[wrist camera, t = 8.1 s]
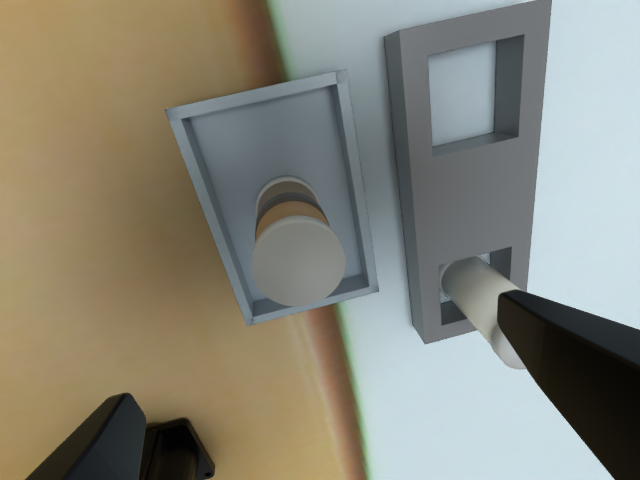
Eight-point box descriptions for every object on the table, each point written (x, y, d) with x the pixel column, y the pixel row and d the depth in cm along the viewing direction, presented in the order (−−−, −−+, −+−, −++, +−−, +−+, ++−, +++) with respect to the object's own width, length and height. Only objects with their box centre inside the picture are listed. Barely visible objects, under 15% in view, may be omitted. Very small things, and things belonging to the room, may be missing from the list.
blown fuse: (323, 226, 19) (352, 293, 13) (265, 240, 19) (266, 316, 13) (310, 168, 18) (336, 212, 11) (248, 183, 18) (239, 237, 11)
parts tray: (369, 275, 22) (379, 291, 20) (248, 306, 21) (246, 325, 19) (337, 70, 16) (346, 68, 15) (175, 107, 16) (164, 109, 14)
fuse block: (504, 300, 24) (524, 317, 22) (412, 325, 24) (424, 344, 22) (520, 6, 16) (552, -4, 15) (383, 36, 16) (399, 30, 14)
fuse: (481, 285, 23) (562, 359, 17) (435, 298, 23) (499, 376, 17) (482, 243, 22) (570, 306, 16) (433, 256, 22) (502, 324, 15)
